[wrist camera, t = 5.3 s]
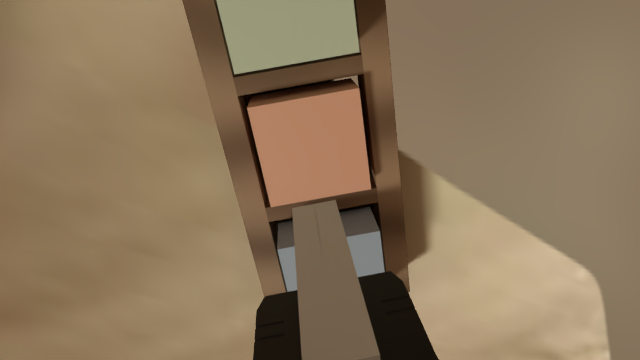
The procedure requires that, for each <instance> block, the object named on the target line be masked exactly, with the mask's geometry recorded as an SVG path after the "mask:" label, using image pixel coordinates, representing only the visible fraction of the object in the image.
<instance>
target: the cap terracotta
mask: <svg viewBox="0 0 640 360" xmlns="http://www.w3.org/2000/svg"><path fill="white" fill-rule="evenodd" d="M247 110H248V114H249V118H250V122H251V127H252V131H253V135H254V139H255V143H256V147H257V152H258V156H259V160H260V164H261V168H262V172H263V177H264V181H265V185H266V189H267V193H268V197H269V202H270V206H271V207H275V206H281V205H286V204H292V203H297V202H303V201H308V200H314V199H319V198H325V197H330V196H336V195H342V194H347V193H353V192H358V191H364V190H369V189H371V183H370V175H369V166H368V158H367V150H366V141H365V133H364V124H363V116H362V108H361V99H360V91H359V87H358V86H357V85H356V84H355V83H354V82H353V80H352V79H351V78H350V79H344V80H338V81H333V82H327V83H321V84H316V85H310V86H305V87H299V88H293V89H288V90H282V91H277V92H271V93H265V94H260V95H254V96H251V99H250V101H249V104H248V107H247Z"/></svg>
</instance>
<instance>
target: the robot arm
mask: <svg viewBox="0 0 640 360" xmlns="http://www.w3.org/2000/svg"><path fill="white" fill-rule="evenodd" d="M292 215H293V230H294V246H295V261H296V276H297V290H295V291H289V292H284V293H279V294H274V295H268V296H265V297H264V299H263V301H262V302H261V304H260V306H259V308H258V309H257V314H256V329H255V342H254V356H253V360H439V359H438V357H437V356H436V354H435V352H434V350H433V347H432V345H431V343H430V341H429V338H428V336H427V334H426V332H425V329H424V327H423V325H422V323H421V320H420V318H419V316H418V314H417V311H416V310H415V307H414V305H413V302H412V300H411V298H410V296H409V293H408V291H407V289H406V287H405V284H404V282H403V281H402V280H401V279H400V278H398V277H397V276H396V275H395V274H394V273H392V272H391V271H387V272H382V273H377V274H372V275H367V276H361V277H357V273H356V270H355V266H354V263H353V259H352V256H351V252H350V249H349V245H348V242H347V238H346V235H345V231H344V228H343V224H342V221H341V217H340V214H339V210H338V207H337V203H336V200H332V201H327V202H321V203H316V204H311V205H305V206H300V207H295V208H292Z"/></svg>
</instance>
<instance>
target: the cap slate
mask: <svg viewBox="0 0 640 360" xmlns="http://www.w3.org/2000/svg"><path fill="white" fill-rule="evenodd" d="M339 214H340V217H341V221H342V224H343V228H344V231H345V235H346V238H347V242H348V245H349V249H350V252H351V256H352V259H353V263H354V266H355V270H356V273H357V277H361V276H367V275H372V274H377V273H382V272H385V271H384V262H383V253H382V244H381V236H380V230H379V227H378V225H377V223H376V220H375V218H374V215H373V213H372V211H371V208H370V207H366V208H360V209H355V210H349V211H344V212H339ZM277 250H278V255H279V259H280V263H281V267H282V271H283V275H284V279H285V283H286V287H287V291H288V292H289V291H295V290H297V276H296V261H295V246H294V230H293V221H288V222H283V223H278V243H277Z"/></svg>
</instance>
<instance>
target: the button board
mask: <svg viewBox="0 0 640 360" xmlns="http://www.w3.org/2000/svg"><path fill="white" fill-rule="evenodd" d="M182 1H183V4H184V8H185V12H186V15H187V19H188V22H189V26H190V30H191V33H192V37H193V40H194V44H195V48H196V51H197V55H198V59H199V62H200V66H201V69H202V73H203V77H204V80H205V84H206V87H207V91H208V95H209V98H210V102H211V106H212V109H213V113H214V116H215V120H216V124H217V127H218V131H219V134H220V138H221V142H222V145H223V149H224V153H225V156H226V160H227V163H228V167H229V171H230V174H231V178H232V181H233V185H234V189H235V192H236V196H237V199H238V203H239V207H240V210H241V214H242V218H243V221H244V225H245V228H246V232H247V236H248V239H249V243H250V246H251V250H252V254H253V257H254V261H255V265H256V268H257V272H258V275H259V279H260V283H261V286H262V290H263V293H264V297H265V296H268V295H274V294H279V293H284V292H288V291H287V287H286V283H285V279H284V275H283V271H282V267H281V263H280V259H279V255H278V250H277V243H278V235H277V231H276V227H275V223H274V221H277V220H282V219H288V218H293V215H292V208H295V207H300V206H305V205H311V204H316V203H321V202H327V201H332V200H336V203H337V207H338V209H343V208H349V207H354V206H360V205H365V204H371V203H373V209H374V218H375V220H376V223H377V225H378V227H379V230H380V236H381V244H382V253H383V262H384V271H385V272H387V271H391V272H392V273H394V274H395V275H396V276H397V277H398V278H400V279H401V280H402V281H403V282H404V284H405V287H406V289H407V291H408V292H410V288H409V276H408V264H407V252H406V240H405V229H404V217H403V205H402V193H401V181H400V169H399V158H398V146H397V134H396V122H395V110H394V99H393V87H392V76H391V63H390V52H389V40H388V28H387V17H386V5H385V0H354V9H355V18H356V26H357V35H358V44H359V52H358V53H352V54H347V55H341V56H335V57H330V58H324V59H318V60H313V61H307V62H301V63H296V64H290V65H285V66H279V67H273V68H268V69H262V70H256V71H251V72H245V73H240V74H234V71H233V66H232V62H231V58H230V54H229V50H228V46H227V42H226V38H225V34H224V30H223V26H222V21H221V17H220V13H219V9H218V5H217V1H216V0H182ZM354 75H358V84H359V91H360V99H361V108H362V116H363V124H364V133H365V141H366V150H367V158H368V166H369V175H370V183H371V189H369V190H364V191H358V192H353V193H347V194H342V195H336V196H330V197H325V198H319V199H314V200H308V201H303V202H297V203H292V204H286V205H281V206H275V207H271V206H270V202H269V197H268V193H267V190H266V185H265V181H264V177H263V173H262V169H261V165H260V160H259V156H258V152H257V148H256V144H255V140H254V135H253V131H252V127H251V123H250V119H249V115H248V110H247V106H246V102H245V98H244V95H247V94H253V93H259V92H264V91H270V90H276V89H281V88H287V87H292V86H298V85H304V84H309V83H315V82H320V81H326V80H332V79H337V78H342V77H349V76H354Z"/></svg>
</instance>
